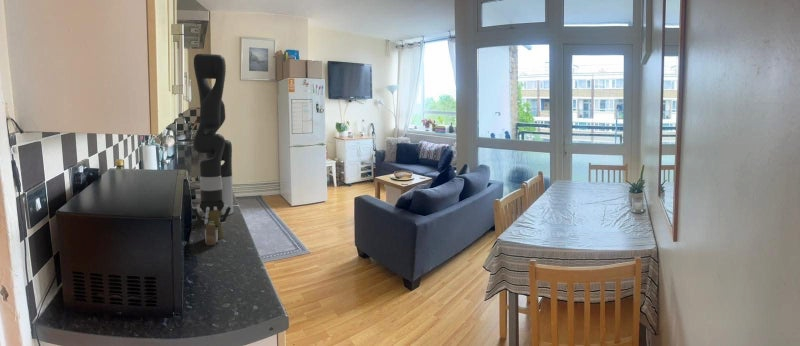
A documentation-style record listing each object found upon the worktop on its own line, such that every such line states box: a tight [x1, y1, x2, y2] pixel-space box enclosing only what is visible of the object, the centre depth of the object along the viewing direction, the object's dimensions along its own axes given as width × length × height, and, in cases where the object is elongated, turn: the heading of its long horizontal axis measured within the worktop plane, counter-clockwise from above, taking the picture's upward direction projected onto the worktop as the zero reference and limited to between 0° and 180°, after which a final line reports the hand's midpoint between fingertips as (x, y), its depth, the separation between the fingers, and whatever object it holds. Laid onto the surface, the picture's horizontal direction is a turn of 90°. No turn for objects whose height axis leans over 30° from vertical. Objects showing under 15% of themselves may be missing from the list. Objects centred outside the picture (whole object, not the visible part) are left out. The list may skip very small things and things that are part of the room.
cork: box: [208, 210, 225, 240], centre depth 172 cm, size 6×6×11 cm
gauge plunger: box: [204, 225, 220, 244], centre depth 167 cm, size 5×4×6 cm
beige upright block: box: [205, 221, 217, 246], centre depth 165 cm, size 6×3×8 cm, turn 17°
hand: (213, 232), depth 172 cm, fingers closed on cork, 2 cm apart
